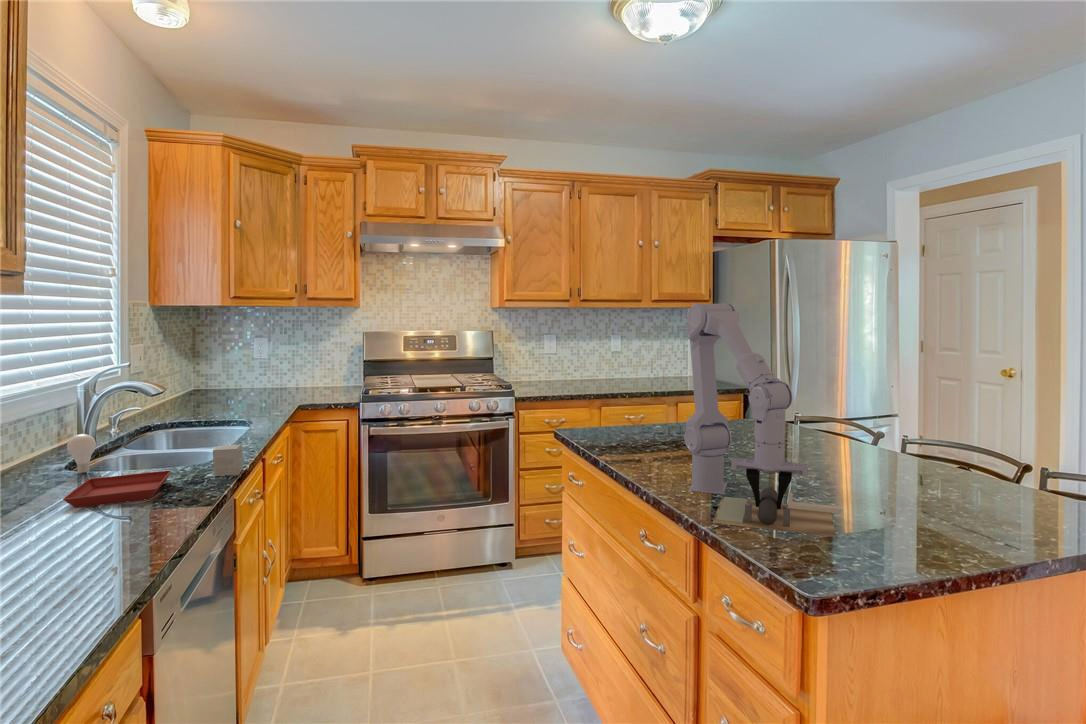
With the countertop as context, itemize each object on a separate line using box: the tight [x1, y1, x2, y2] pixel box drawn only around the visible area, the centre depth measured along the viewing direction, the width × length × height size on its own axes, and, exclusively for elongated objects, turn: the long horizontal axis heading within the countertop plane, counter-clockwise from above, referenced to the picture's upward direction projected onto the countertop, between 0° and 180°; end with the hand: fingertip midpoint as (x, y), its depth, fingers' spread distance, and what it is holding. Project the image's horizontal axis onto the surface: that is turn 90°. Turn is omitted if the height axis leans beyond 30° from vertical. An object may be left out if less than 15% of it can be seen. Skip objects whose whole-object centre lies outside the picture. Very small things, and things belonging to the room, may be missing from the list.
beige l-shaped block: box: [787, 491, 843, 514], centre depth 113 cm, size 2×9×3 cm, turn 67°
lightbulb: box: [66, 433, 97, 475], centre depth 164 cm, size 6×6×11 cm
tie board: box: [712, 496, 837, 538], centre depth 121 cm, size 17×22×4 cm
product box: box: [212, 443, 244, 477], centre depth 162 cm, size 6×6×7 cm
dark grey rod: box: [758, 487, 778, 525], centre depth 122 cm, size 14×3×3 cm, turn 157°
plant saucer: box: [62, 470, 172, 508], centre depth 144 cm, size 18×18×3 cm
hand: (768, 506), depth 122 cm, fingers closed on dark grey rod, 3 cm apart
